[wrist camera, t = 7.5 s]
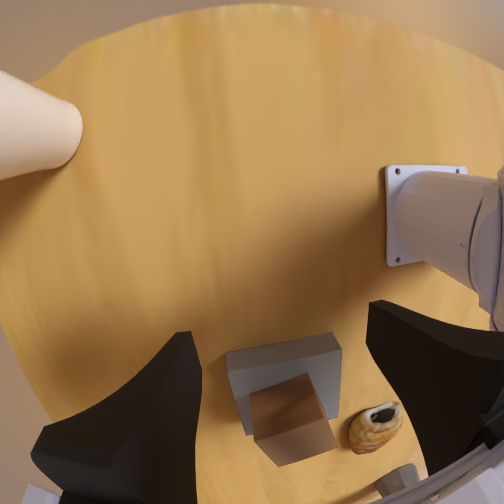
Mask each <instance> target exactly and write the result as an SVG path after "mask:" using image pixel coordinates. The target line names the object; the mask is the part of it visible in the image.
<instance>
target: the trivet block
mask: <svg viewBox="0 0 504 504" xmlns="http://www.w3.org/2000/svg"><path fill="white" fill-rule="evenodd" d="M341 360H342V348H341V347H340V345H339V343H338V342H337V340H336V338H335V336H334V335H333V333H332V332H330V333H326V334H322V335H317V336H313V337H308V338H304V339H299V340H294V341H289V342H284V343H279V344H273V345H268V346H262V347H256V348H250V349H244V350H237V351H231V352H226V372H227V376H228V379H229V383H230V386H231V389H232V393H233V396H234V399H235V402H236V406H237V409H238V412H239V415H240V418H241V422H242V425H243V428H244V431H245V434H246V436H247V435H253V426H252V416H251V406H250V396H249V394H250V393H253V392H256V391H259V390H262V389H265V388H268V387H270V386H273V385H276V384H279V383H281V382H284V381H287V380H289V379H292V378H294V377H297V376H299V375H302V374H304V373H307V372H308V375H309V377H310V379H311V381H312V383H313V386H314V388H315V390H316V392H317V394H318V397H319V399H320V401H321V403H322V406H323V408H324V411H325V414H326V416H327V419H328V420H330V419H334V418H337V417H338V411H339V398H340V383H341Z"/></svg>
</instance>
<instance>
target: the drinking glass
mask: <svg viewBox="0 0 504 504" xmlns="http://www.w3.org/2000/svg"><path fill="white" fill-rule="evenodd" d="M82 131H83V123H82V118H81V115H80V112H79V110H78V109H77V108H76V106H74V105H73V104H72V103H70V102H68V101H65V100H62V99H60V98H57V97H55V96H53V95H51V94H49V93H47V92H45V91H43V90H41V89H39V88H37V87H35V86H33V85H31V84H29V83H27V82H25V81H22V80H20V79H19V78H16V77H14V76H12V75H10V74H8V73H6V72H4V71H2V70H0V181H1V180H4V179H8V178H11V177H15V176H19V175H23V174H27V173H31V172H35V171H40V170H49V169H55V168H58V167H60V166H62V165H64V164H65V163H66V162H68V161H69V160H70V159H71V157H72V156H73V155H74V153H75V152H76V150H77V148H78V146H79V144H80V141H81V137H82Z"/></svg>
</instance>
